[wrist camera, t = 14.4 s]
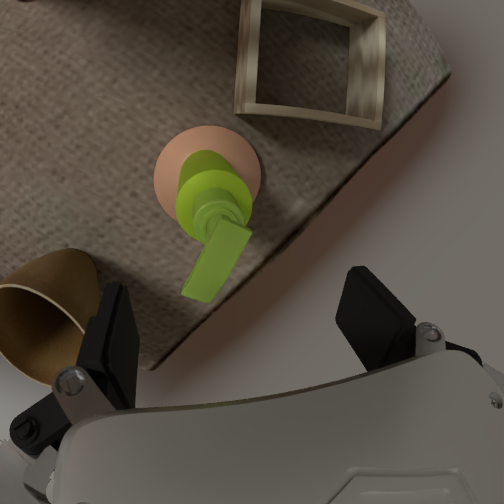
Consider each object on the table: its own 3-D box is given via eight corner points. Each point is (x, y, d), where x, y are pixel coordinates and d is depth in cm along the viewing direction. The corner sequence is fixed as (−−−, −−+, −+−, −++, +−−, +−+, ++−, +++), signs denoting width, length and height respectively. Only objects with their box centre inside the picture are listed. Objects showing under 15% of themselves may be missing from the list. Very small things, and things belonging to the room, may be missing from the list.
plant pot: (140, 287, 39) (125, 372, 25) (73, 321, 39) (47, 397, 25) (83, 201, 31) (26, 260, 17) (18, 251, 31) (-35, 315, 17)
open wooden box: (241, -1, 24) (253, -23, 18) (355, 24, 27) (384, 13, 21) (233, 113, 31) (244, 112, 25) (350, 125, 34) (380, 130, 28)
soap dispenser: (168, 193, 32) (148, 288, 15) (194, 141, 30) (200, 175, 13) (211, 212, 35) (238, 318, 17) (238, 163, 33) (298, 224, 15)
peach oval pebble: (153, 127, 29) (152, 127, 28) (261, 126, 32) (264, 127, 31) (157, 228, 35) (157, 231, 34) (255, 224, 38) (257, 227, 37)
